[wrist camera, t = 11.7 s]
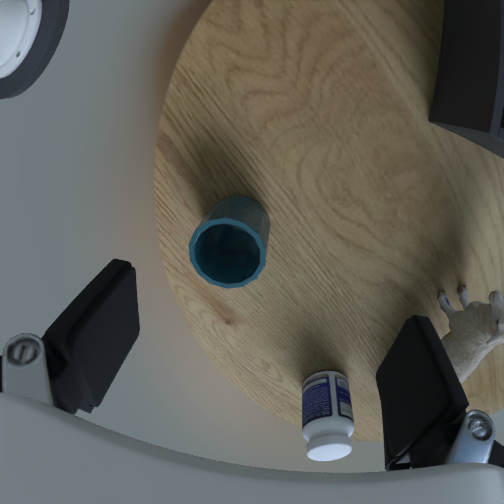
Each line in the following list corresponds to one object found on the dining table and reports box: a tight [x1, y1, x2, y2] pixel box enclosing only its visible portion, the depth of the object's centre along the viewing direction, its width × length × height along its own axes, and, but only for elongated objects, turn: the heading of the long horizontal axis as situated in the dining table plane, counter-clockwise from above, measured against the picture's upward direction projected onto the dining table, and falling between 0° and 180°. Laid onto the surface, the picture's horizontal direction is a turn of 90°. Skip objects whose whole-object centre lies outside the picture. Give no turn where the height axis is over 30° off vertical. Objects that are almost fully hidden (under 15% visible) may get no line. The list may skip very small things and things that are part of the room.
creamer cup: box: [189, 196, 270, 288], centre depth 23 cm, size 5×6×6 cm
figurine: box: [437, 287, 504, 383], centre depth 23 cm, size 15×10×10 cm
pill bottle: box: [302, 371, 354, 461], centre depth 29 cm, size 6×6×10 cm
